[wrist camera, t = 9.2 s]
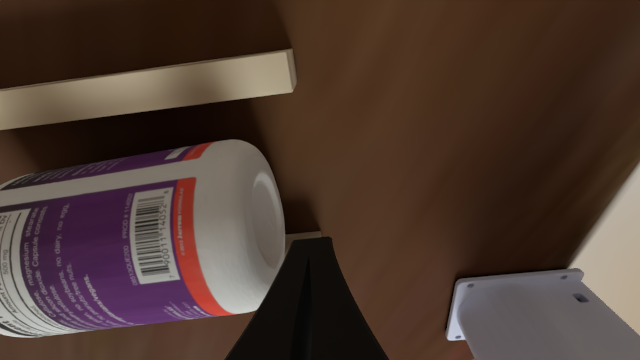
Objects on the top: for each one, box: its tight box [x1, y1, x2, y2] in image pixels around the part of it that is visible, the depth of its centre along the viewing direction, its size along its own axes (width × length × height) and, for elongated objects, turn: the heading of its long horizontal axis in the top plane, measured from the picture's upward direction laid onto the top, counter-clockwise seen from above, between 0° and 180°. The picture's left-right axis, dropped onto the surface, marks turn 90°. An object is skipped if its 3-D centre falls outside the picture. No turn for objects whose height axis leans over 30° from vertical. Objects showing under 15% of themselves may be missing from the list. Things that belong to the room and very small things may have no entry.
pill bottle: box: [0, 139, 285, 337], centre depth 13 cm, size 8×8×14 cm
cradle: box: [0, 49, 322, 259], centre depth 15 cm, size 22×13×3 cm, turn 97°
